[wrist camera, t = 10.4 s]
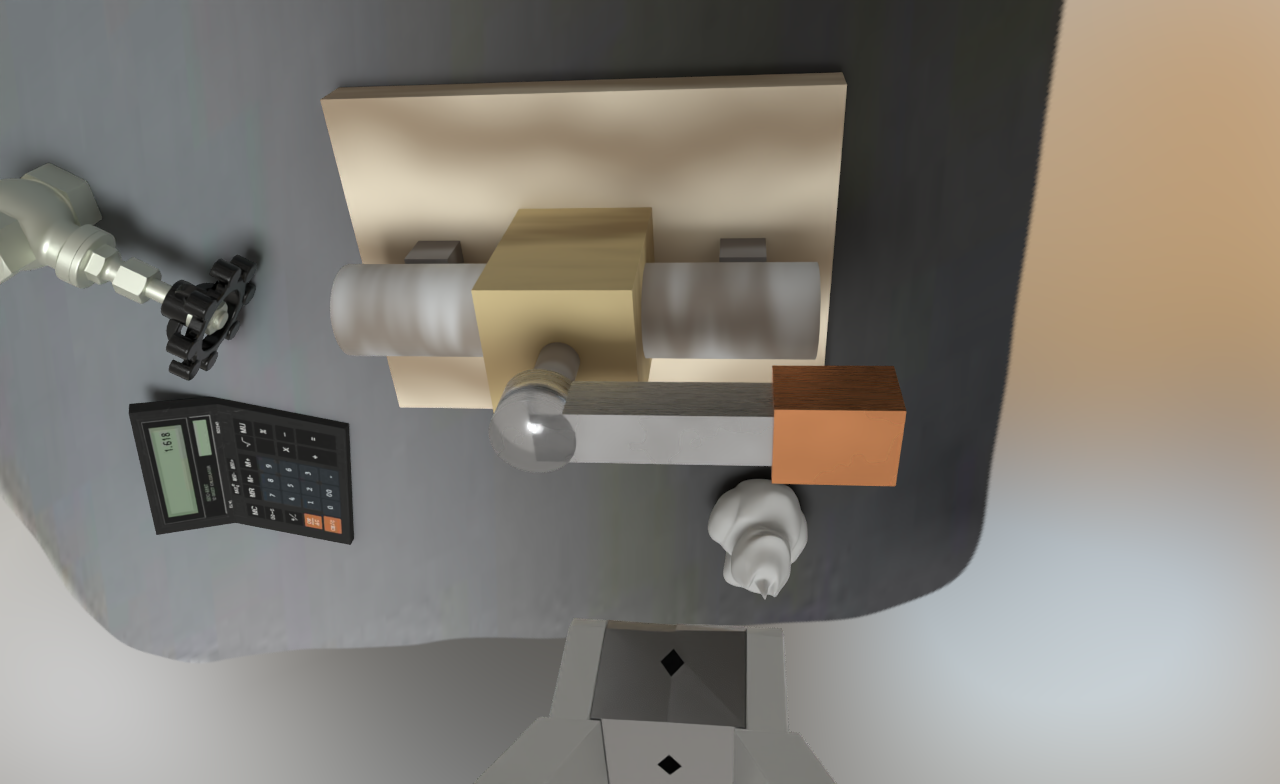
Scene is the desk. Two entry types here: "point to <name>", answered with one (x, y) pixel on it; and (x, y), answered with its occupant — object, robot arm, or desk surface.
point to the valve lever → (711, 423)
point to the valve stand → (587, 229)
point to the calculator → (244, 467)
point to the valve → (115, 263)
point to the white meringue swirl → (759, 534)
